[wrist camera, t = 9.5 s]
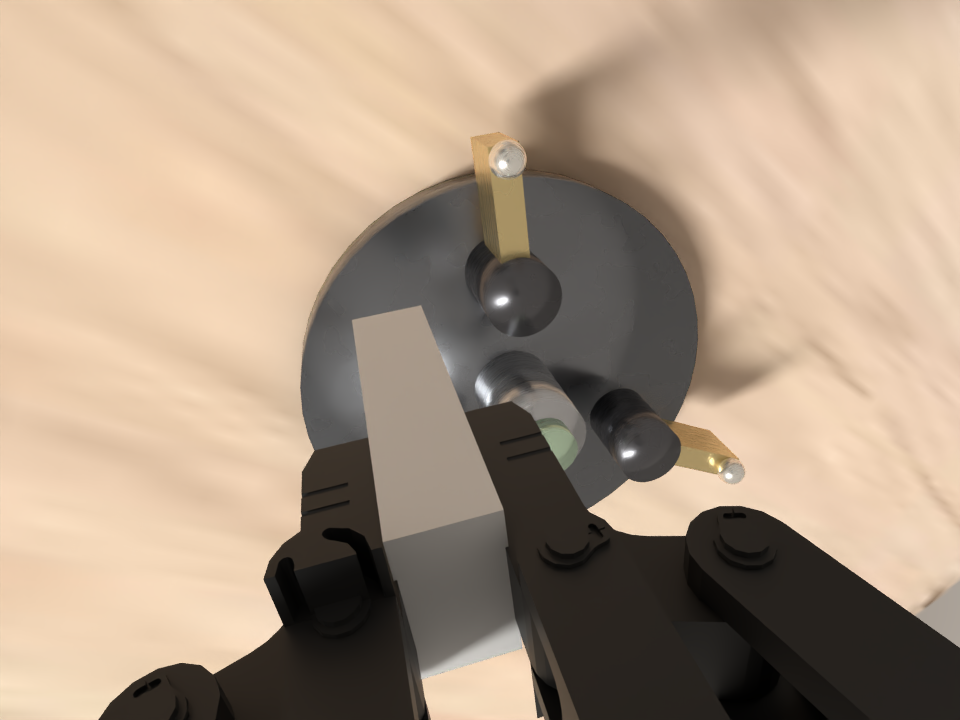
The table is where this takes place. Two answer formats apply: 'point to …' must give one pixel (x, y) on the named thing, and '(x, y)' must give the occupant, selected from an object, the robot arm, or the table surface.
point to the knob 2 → (657, 441)
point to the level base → (499, 357)
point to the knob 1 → (508, 244)
